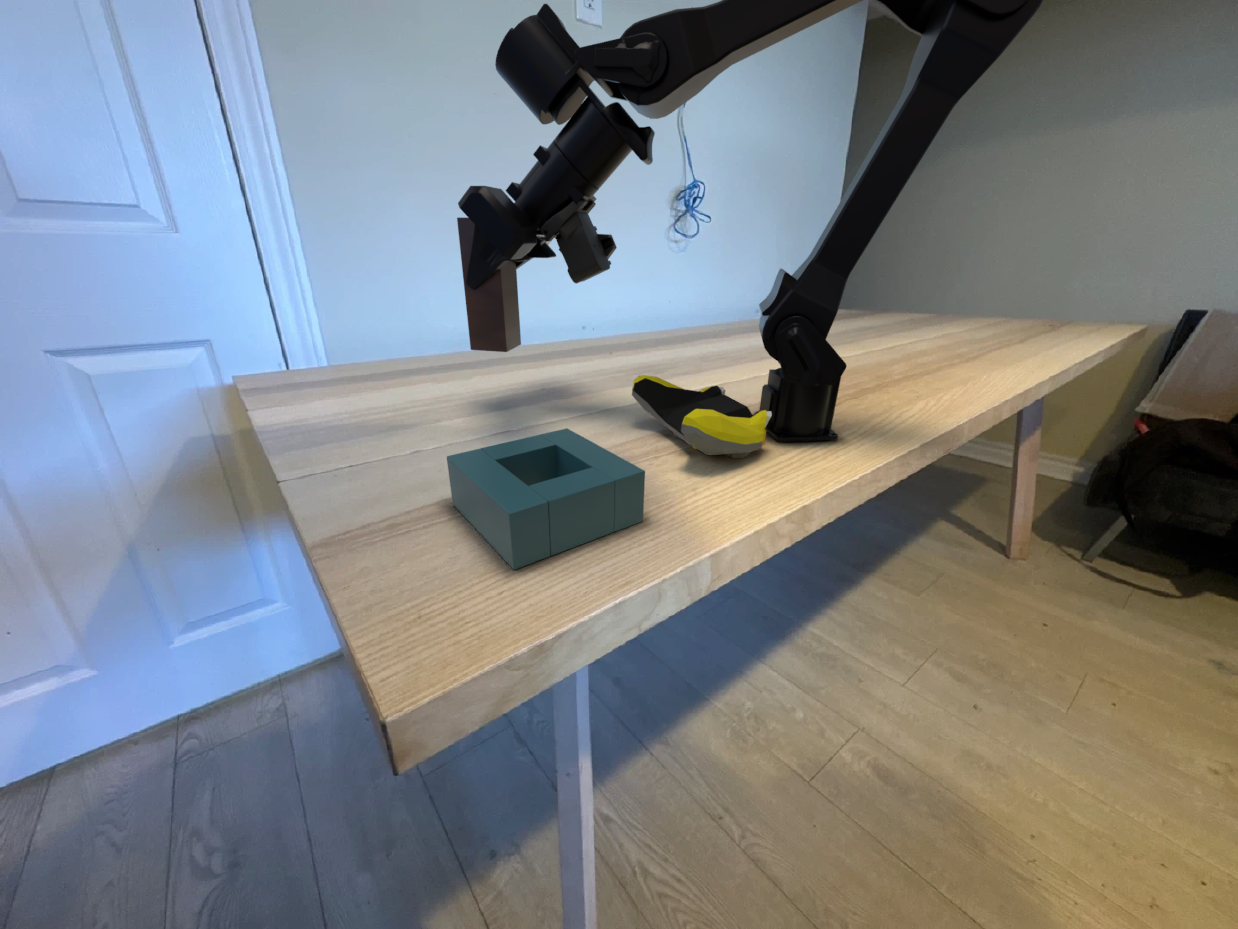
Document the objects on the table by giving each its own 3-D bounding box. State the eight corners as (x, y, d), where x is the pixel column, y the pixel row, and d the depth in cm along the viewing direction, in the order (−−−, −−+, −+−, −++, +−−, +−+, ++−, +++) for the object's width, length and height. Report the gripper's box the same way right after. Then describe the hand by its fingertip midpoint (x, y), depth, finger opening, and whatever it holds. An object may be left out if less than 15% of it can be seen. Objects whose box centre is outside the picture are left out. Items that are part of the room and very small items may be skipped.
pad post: (521, 344, 59) (513, 218, 54) (506, 352, 55) (496, 217, 50) (487, 342, 60) (475, 218, 54) (470, 350, 56) (456, 217, 51)
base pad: (568, 471, 44) (566, 427, 43) (643, 521, 37) (645, 470, 35) (452, 504, 39) (446, 455, 37) (513, 570, 31) (509, 513, 30)
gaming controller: (689, 479, 43) (787, 463, 47) (694, 417, 41) (797, 405, 44) (624, 422, 56) (704, 412, 59) (625, 372, 54) (709, 365, 57)
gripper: (614, 231, 41) (497, 360, 48) (649, 232, 58) (558, 327, 65) (515, 117, 40) (407, 267, 46) (580, 152, 56) (494, 258, 63)
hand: (479, 284), depth 55 cm, fingers closed on pad post, 4 cm apart
